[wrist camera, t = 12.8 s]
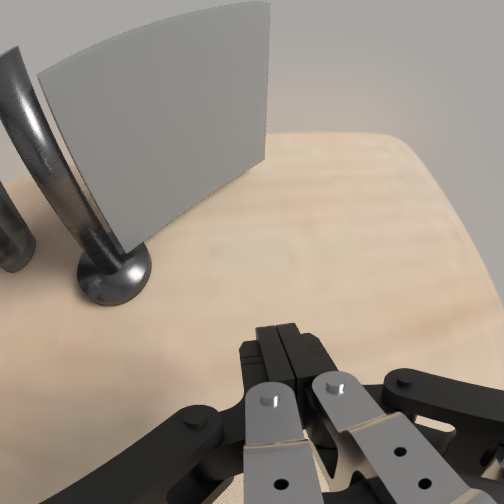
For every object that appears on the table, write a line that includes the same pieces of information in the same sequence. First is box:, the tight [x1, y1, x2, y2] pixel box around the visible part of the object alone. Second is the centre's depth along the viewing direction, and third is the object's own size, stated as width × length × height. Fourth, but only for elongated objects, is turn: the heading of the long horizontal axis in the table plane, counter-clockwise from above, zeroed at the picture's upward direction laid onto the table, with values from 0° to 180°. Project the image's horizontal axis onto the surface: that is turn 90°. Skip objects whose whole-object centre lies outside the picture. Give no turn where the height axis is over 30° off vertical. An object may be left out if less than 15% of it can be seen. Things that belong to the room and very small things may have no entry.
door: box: [37, 1, 270, 254], centre depth 17 cm, size 14×2×14 cm, turn 134°
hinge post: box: [0, 46, 152, 306], centre depth 14 cm, size 6×6×18 cm
